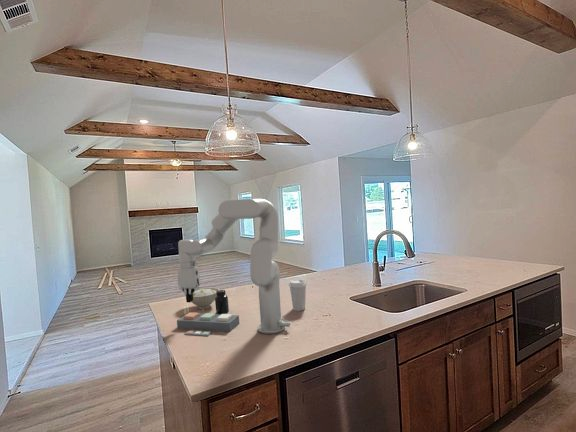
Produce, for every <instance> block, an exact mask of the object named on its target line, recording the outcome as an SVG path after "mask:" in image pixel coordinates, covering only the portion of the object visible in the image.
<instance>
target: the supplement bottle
mask: <svg viewBox="0 0 576 432" xmlns="http://www.w3.org/2000/svg"><path fill="white" fill-rule="evenodd" d="M216 295H217V296H216V297H215V300H214V302H215V303H214V304H215V312H216V313H215V314H219V315H221V314H229V311H230V308H229V297H228V295H227V294H226V290H225V289H220V290H219V291H216Z"/></svg>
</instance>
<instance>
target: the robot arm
mask: <svg viewBox="0 0 576 432" xmlns="http://www.w3.org/2000/svg"><path fill="white" fill-rule="evenodd" d="M217 210H218V213H217V214H216V216H215V217H214V218H212V220H211V225H212V226H211V229H210V231H209V233H208V234H207V235H206V236H204V237H202V238H198V239H193V238H192V239H191V238H186V239H181V240H179V241H178V243H177V244H178V245H177V246H178V263H179V267H178V270H177V286H178V290H179V291H183V293H184V295H185V300H186V303H190V304H191V303H192V301H193V293H194V291H196V290H199V288H200V286H201V277H200V272H199V268H198V262H196V257H199V256H202V255H204V254H208V253H210V252H212V251H213V250H214V249H215V248H216V247H217V246H218V245H219V244H221V242H222V240H223V239H224V237H225V235H226V233H227V232H228V231H229V230H230V229H231V228H232V226H233V225H234V224H235V223H237V222H238V220H245V219H246V220H249V219H250V220H251V219H257V218H259V219H260V222H259V223H260V224H259V228H258V229H259V230H258V232H259V235H258V239H257V240H256V241H255V242H254V243H253V244H252V246H251V249H250V266H249V267H250V268H249V273H250V274H249V275H250V279H251V281H252V283H253V285H255V286H257V287H258V303H259V315H260V324H258V326H257V331H258V332H259V334H260V333H261V334H264V335H265V334H266V335H272V334H278V333H280V332H283V331H284V330H285V328H287V327H288V328H290V327H291V322H290V321H289V320H285V319H284V317H283V316H282V312H281V311H282V309H281V294H280V293H281V292H280V289H281V288H280V279H281V277H280V274H281V273H280V272H281V271H280V267H279V265H278V263H277V262H276V261H275V260H273V257H275V256H276V255H277V254H278V251H279V250H278V249H279V214H278V209H277V208H276V206H275V205H274V204H273V203H272V202H271V201H268V200H267V199H263V198H244V199H225V200H224V201H222V202H221V203H220V204H219V206H218V209H217Z"/></svg>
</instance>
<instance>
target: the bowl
mask: <svg viewBox="0 0 576 432" xmlns="http://www.w3.org/2000/svg"><path fill="white" fill-rule="evenodd" d="M219 290H221V289H220V288H218V287H210V286H209V287H208V286H207V287H202V288H201V287H199V290H196V291H194V293H193V301H192V302H191V303H192V304H193V305H194V306H197V309H200V310H205V308H206V309H209V308H211V304H213V303H214V302H215V297H216V296H217V295H216V291H219Z"/></svg>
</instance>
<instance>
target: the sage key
mask: <svg viewBox="0 0 576 432" xmlns="http://www.w3.org/2000/svg"><path fill="white" fill-rule="evenodd" d="M203 314H204V315H202V316H201V317H200V320H212V319H213V318H214V317H215V314H216V313H212V312H211V313H210V312H206V313H203Z"/></svg>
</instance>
